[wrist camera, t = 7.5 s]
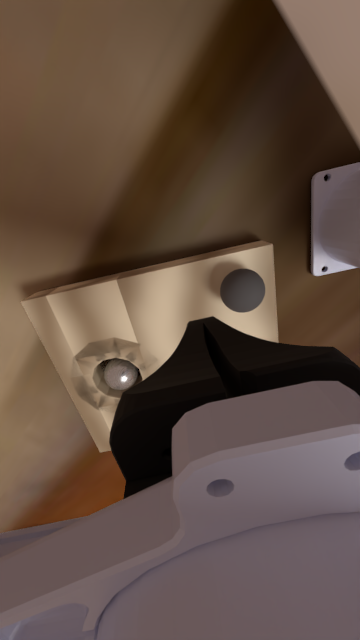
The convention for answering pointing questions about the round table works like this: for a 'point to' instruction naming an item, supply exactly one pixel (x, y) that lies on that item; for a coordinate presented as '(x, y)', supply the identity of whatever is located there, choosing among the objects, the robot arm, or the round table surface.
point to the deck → (141, 321)
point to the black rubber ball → (242, 290)
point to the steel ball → (120, 374)
